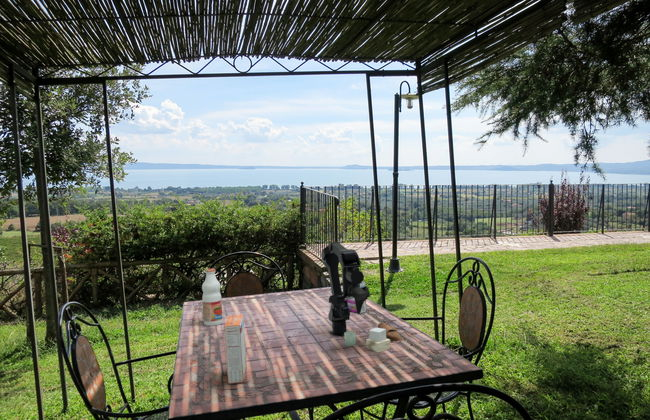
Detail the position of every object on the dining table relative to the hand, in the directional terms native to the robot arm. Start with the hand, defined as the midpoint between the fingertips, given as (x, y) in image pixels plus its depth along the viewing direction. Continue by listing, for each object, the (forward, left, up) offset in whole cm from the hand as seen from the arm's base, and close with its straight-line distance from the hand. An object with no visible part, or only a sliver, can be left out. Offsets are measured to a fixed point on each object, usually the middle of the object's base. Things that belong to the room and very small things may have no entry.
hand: (350, 316), depth 203 cm
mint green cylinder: (0, 0, -12) cm, 12 cm away
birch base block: (+12, +5, -12) cm, 17 cm away
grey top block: (+11, +5, -8) cm, 15 cm away
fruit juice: (-73, -30, -12) cm, 80 cm away
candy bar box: (-38, +36, -12) cm, 54 cm away
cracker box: (-2, -52, -12) cm, 54 cm away
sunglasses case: (+2, +21, -13) cm, 24 cm away
